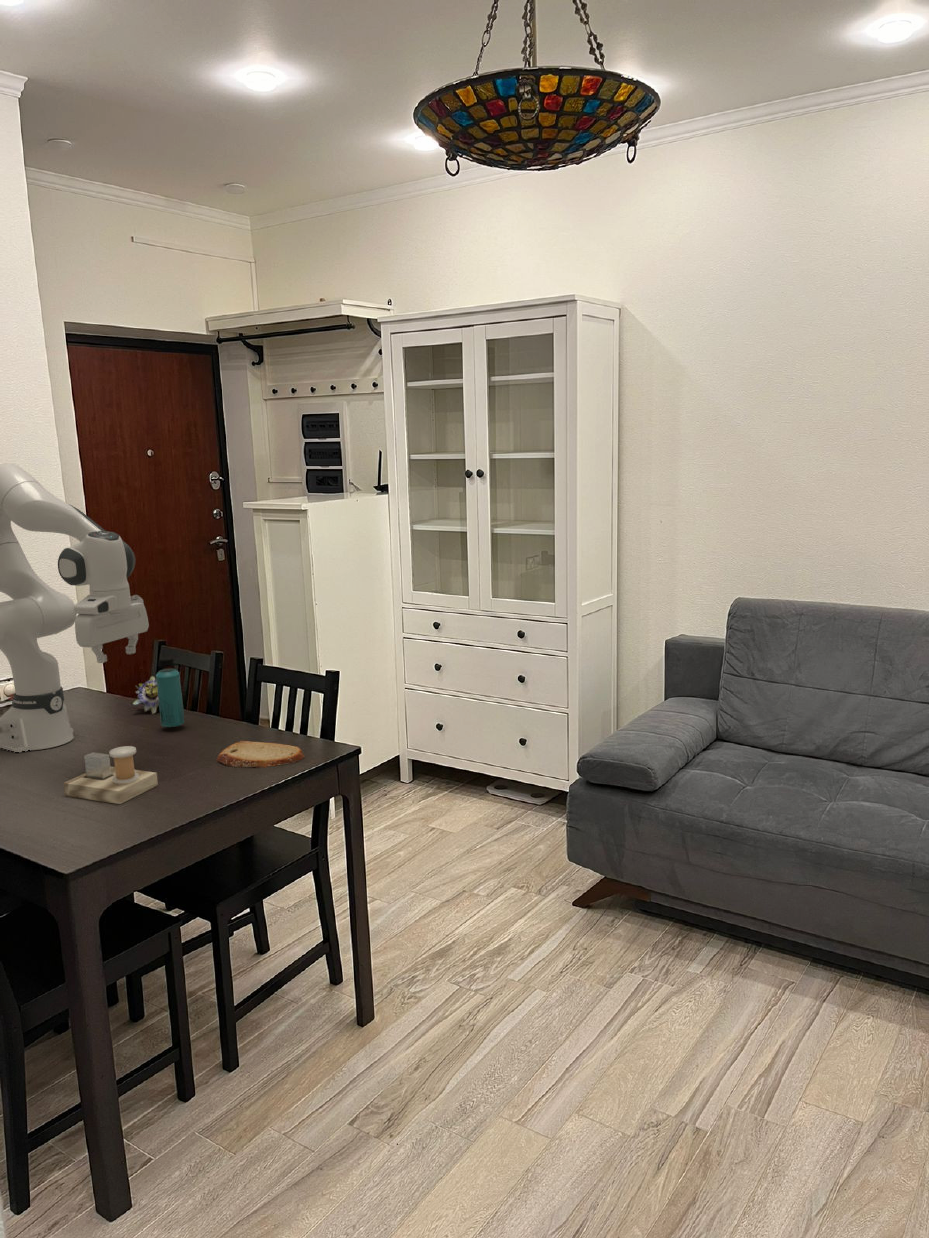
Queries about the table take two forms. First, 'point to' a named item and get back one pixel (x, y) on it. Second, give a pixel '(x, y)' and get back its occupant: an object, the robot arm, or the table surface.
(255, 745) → the slice of bread
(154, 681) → the passion flower
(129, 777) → the bobbin
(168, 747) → the table surface
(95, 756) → the metal tab
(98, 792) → the slot board
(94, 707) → the table surface
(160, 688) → the beverage bottle
